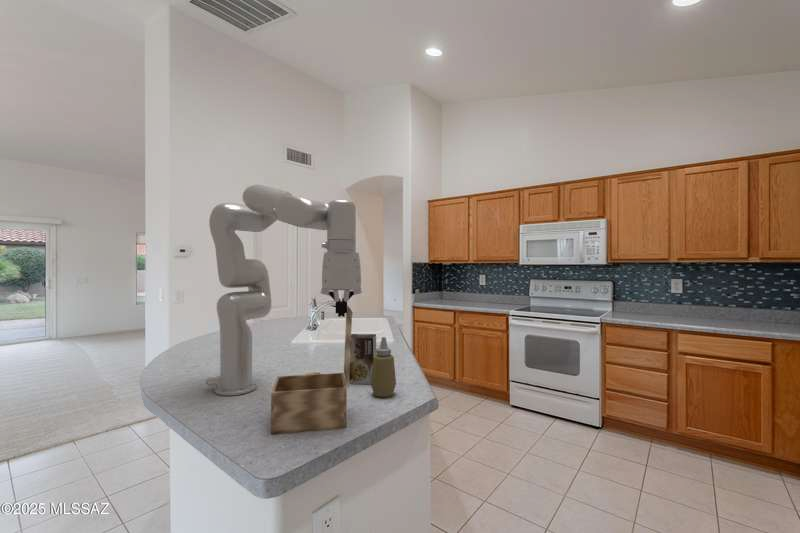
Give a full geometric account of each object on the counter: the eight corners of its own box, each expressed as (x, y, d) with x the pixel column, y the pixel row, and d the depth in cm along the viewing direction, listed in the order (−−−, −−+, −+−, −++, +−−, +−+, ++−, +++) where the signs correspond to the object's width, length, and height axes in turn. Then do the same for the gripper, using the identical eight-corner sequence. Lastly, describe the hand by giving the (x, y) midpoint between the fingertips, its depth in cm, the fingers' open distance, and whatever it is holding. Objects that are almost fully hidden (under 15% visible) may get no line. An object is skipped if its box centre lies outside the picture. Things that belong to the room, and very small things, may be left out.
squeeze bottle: (386, 401, 110) (387, 341, 110) (365, 395, 114) (365, 338, 114) (401, 393, 117) (401, 336, 117) (380, 388, 121) (380, 333, 121)
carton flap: (350, 312, 92) (352, 312, 92) (346, 306, 105) (348, 306, 105) (346, 387, 92) (349, 387, 92) (343, 372, 105) (345, 372, 105)
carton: (271, 434, 88) (271, 392, 88) (277, 412, 101) (277, 376, 101) (346, 427, 92) (346, 387, 92) (343, 407, 105) (343, 372, 105)
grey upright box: (376, 379, 131) (377, 333, 131) (373, 385, 124) (373, 337, 124) (351, 378, 132) (351, 333, 132) (347, 383, 125) (347, 336, 125)
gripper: (312, 246, 93) (312, 319, 93) (371, 247, 96) (371, 317, 96) (312, 247, 100) (312, 314, 100) (367, 248, 103) (367, 313, 103)
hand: (341, 315), depth 98 cm, fingers closed
